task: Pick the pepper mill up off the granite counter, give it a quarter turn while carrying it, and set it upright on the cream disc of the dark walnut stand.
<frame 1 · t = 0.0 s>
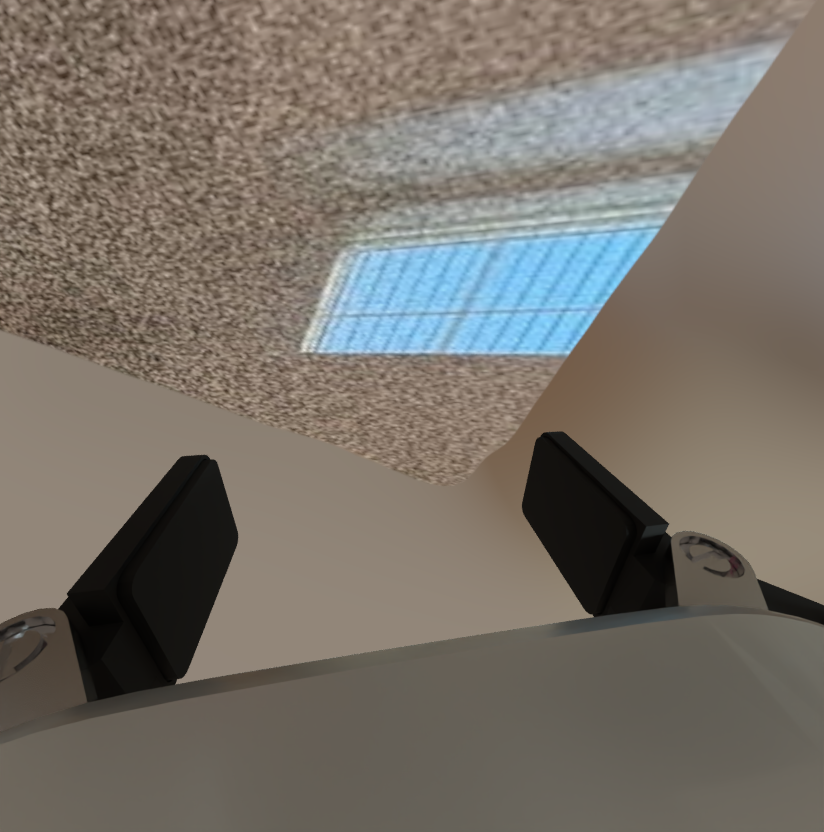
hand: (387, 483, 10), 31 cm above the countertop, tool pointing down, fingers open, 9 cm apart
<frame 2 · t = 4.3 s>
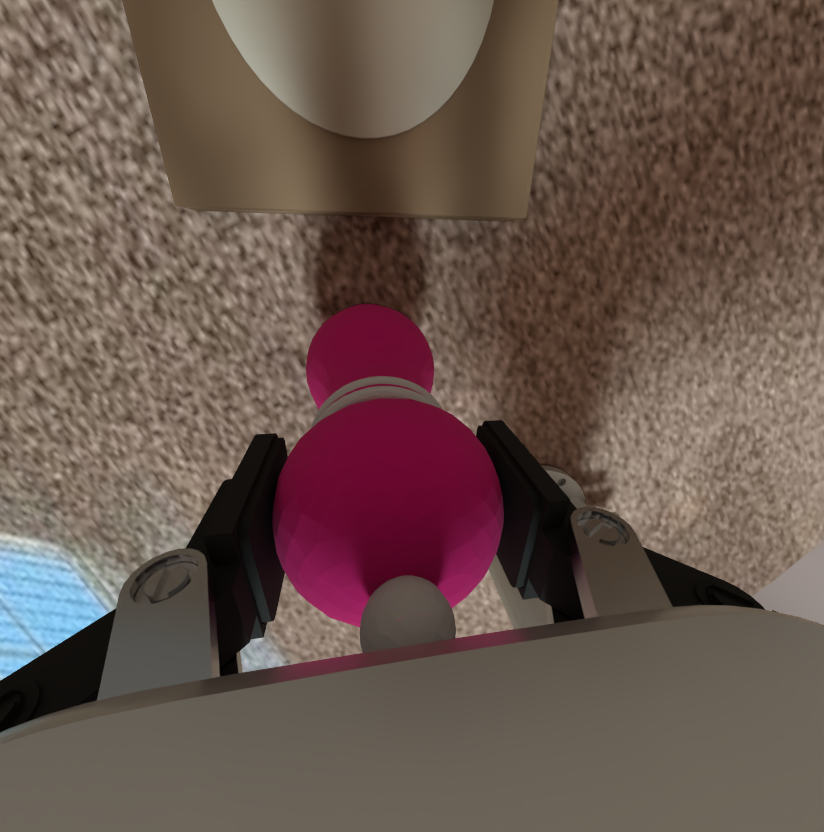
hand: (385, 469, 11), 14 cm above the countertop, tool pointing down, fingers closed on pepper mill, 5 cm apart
pepper mill: (368, 349, 23), on the countertop, touching gripper
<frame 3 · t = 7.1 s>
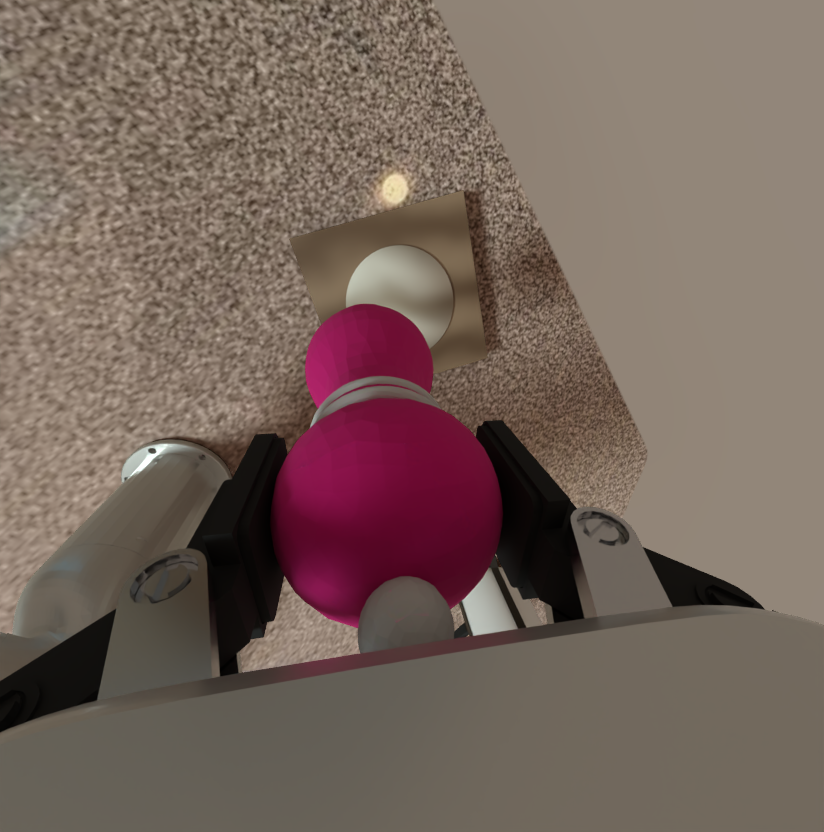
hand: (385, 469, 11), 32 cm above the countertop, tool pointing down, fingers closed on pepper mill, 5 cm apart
pepper mill: (367, 349, 23), point 18 cm above the countertop, touching gripper
coffee press: (480, 583, 65), on the countertop
walnut stand: (397, 302, 39), on the countertop
when the fingers open (18 cm above the countertop, at t = 9.9 s): pepper mill stays where it is, resting on walnut stand.
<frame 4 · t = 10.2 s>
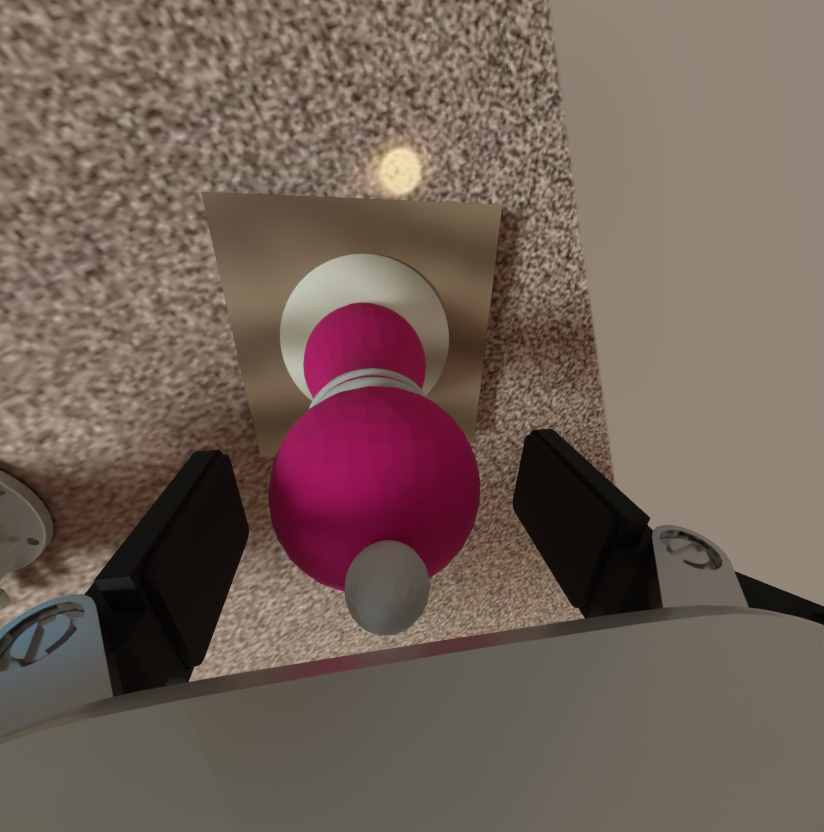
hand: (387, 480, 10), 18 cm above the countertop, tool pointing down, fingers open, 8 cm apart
pepper mill: (364, 346, 24), point 3 cm above the countertop, touching walnut stand
walnut stand: (366, 337, 26), on the countertop
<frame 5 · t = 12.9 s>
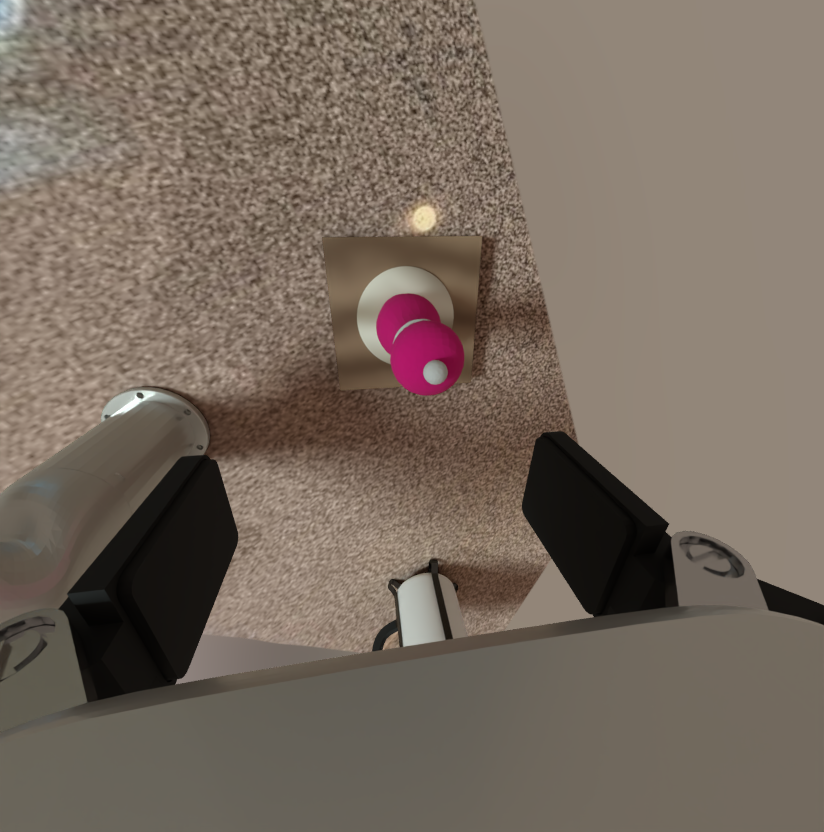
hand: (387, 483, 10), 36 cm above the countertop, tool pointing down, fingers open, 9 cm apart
pepper mill: (403, 319, 41), point 3 cm above the countertop, touching walnut stand
coffee press: (418, 586, 69), on the countertop
walnut stand: (403, 315, 43), on the countertop
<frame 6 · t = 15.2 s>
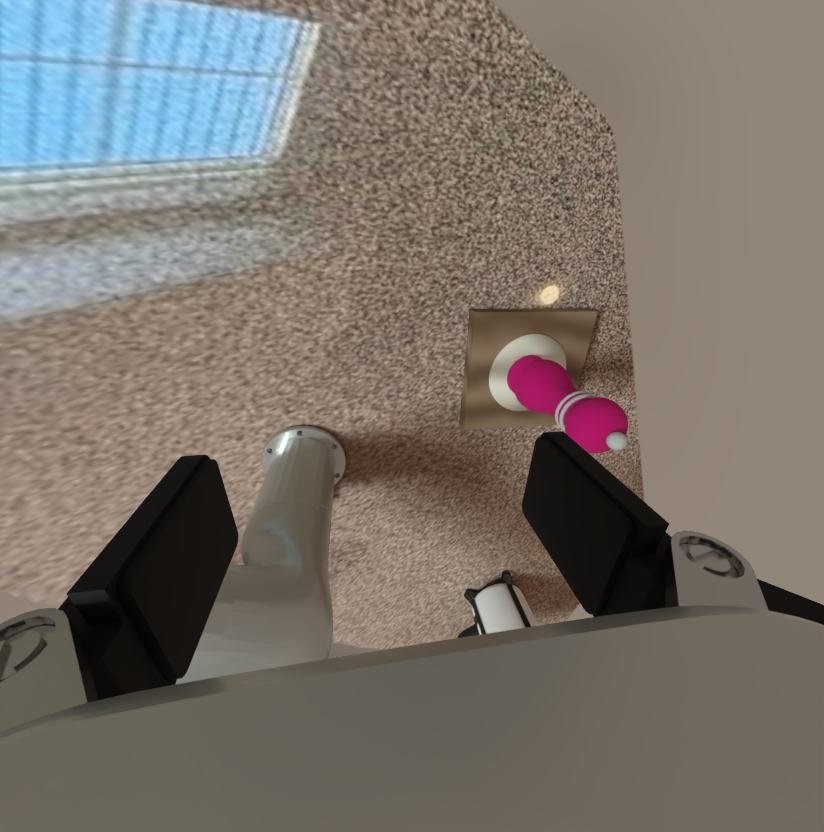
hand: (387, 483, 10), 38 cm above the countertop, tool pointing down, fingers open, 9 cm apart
pepper mill: (525, 374, 49), point 3 cm above the countertop, touching walnut stand
coffee press: (488, 595, 77), on the countertop
walnut stand: (519, 368, 52), on the countertop
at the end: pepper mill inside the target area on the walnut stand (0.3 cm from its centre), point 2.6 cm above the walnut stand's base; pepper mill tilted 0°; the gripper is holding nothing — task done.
